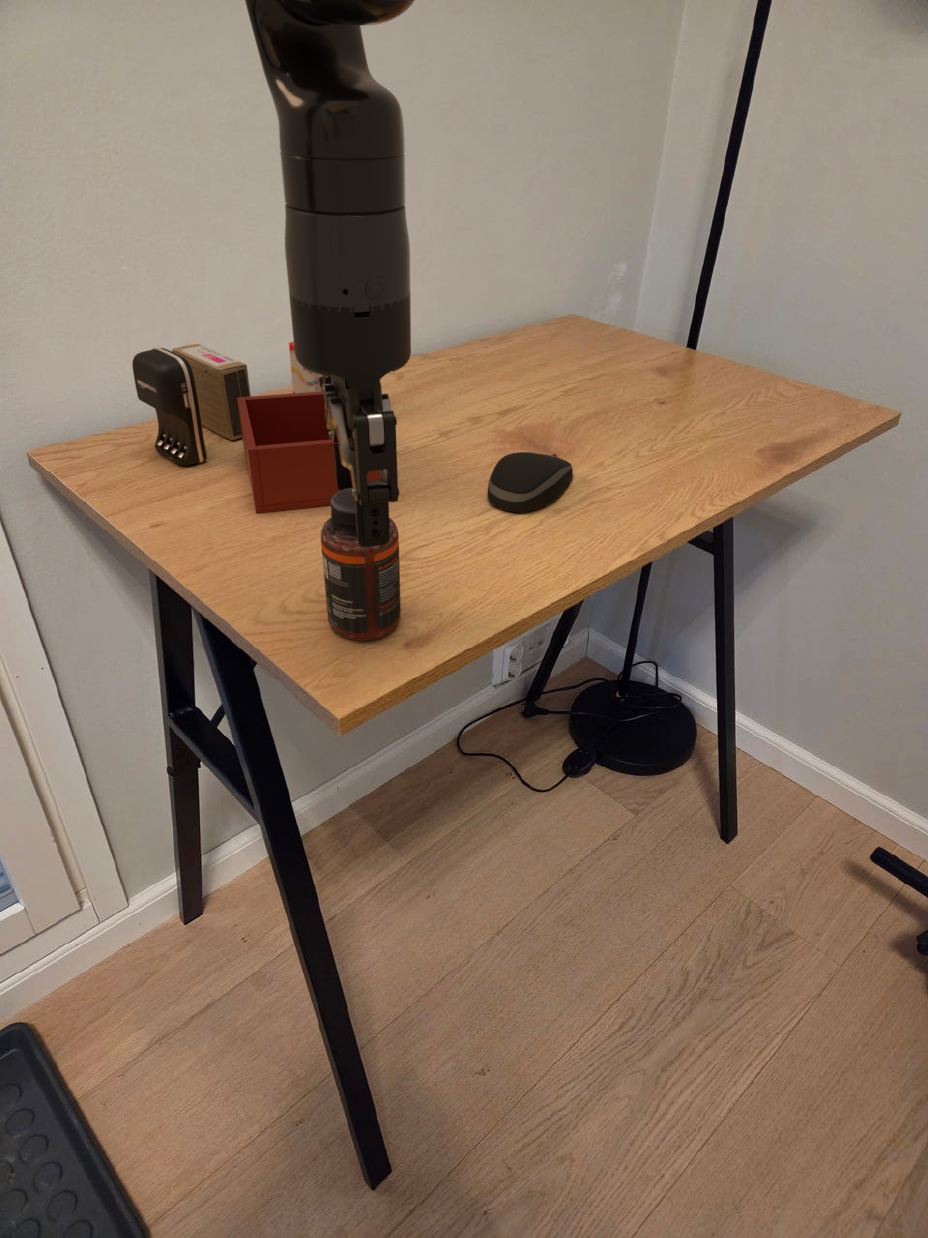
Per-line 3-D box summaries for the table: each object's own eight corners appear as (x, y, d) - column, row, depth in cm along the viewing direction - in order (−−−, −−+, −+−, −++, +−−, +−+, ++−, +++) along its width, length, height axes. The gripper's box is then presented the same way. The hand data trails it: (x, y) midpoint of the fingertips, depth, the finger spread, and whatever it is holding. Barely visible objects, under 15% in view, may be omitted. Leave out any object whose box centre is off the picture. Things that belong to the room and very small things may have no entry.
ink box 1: (257, 434, 93) (249, 363, 88) (229, 442, 91) (219, 370, 86) (210, 409, 99) (199, 341, 94) (182, 416, 97) (170, 347, 92)
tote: (256, 513, 78) (247, 449, 74) (244, 455, 89) (236, 397, 85) (390, 499, 82) (389, 437, 78) (364, 445, 92) (362, 388, 88)
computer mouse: (586, 478, 87) (591, 444, 85) (530, 521, 79) (534, 485, 77) (531, 460, 90) (534, 427, 88) (472, 500, 82) (474, 465, 80)
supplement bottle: (406, 604, 67) (405, 483, 60) (394, 647, 62) (392, 521, 55) (336, 598, 67) (328, 477, 60) (319, 640, 62) (308, 514, 56)
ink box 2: (293, 406, 100) (285, 324, 94) (316, 401, 102) (310, 320, 96) (317, 422, 97) (311, 337, 91) (341, 415, 99) (336, 332, 93)
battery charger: (145, 452, 88) (122, 349, 81) (175, 442, 91) (156, 342, 84) (179, 472, 85) (158, 367, 78) (210, 462, 87) (192, 358, 80)
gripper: (275, 260, 53) (298, 477, 63) (305, 321, 43) (326, 572, 52) (384, 256, 55) (389, 468, 65) (438, 314, 45) (435, 557, 54)
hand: (361, 514), depth 59 cm, fingers open, 8 cm apart
